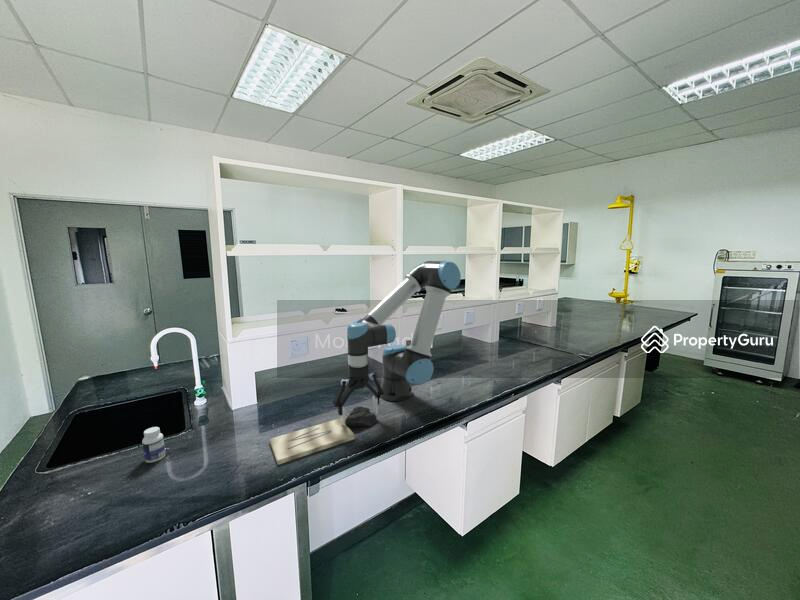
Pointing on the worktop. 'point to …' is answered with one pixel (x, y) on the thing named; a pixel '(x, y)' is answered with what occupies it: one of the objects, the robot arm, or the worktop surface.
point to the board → (310, 440)
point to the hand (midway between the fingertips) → (359, 417)
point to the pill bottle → (153, 445)
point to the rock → (360, 417)
